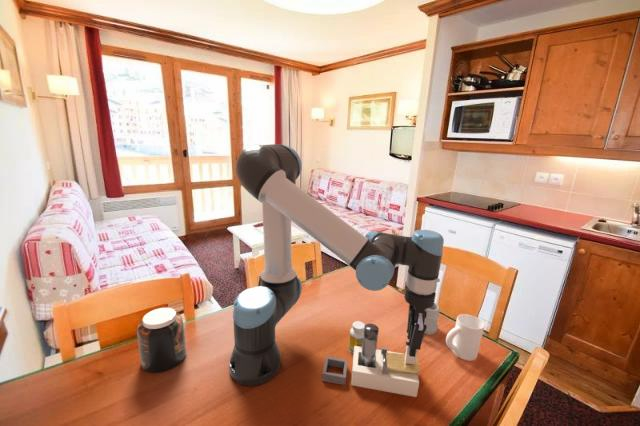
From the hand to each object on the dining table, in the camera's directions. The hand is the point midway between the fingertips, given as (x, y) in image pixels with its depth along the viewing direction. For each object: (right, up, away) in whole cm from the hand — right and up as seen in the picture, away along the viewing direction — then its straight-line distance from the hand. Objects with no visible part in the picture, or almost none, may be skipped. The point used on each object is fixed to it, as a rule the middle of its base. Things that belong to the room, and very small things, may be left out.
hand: (409, 361), depth 81 cm
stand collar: (-21, -5, +3) cm, 22 cm away
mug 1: (+12, -1, +25) cm, 28 cm away
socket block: (-7, -6, +3) cm, 10 cm away
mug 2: (+21, -5, +14) cm, 26 cm away
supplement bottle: (-14, -3, +13) cm, 19 cm away
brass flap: (-2, -1, +1) cm, 3 cm away
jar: (-73, -2, +6) cm, 73 cm away
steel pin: (-12, -6, +4) cm, 14 cm away
